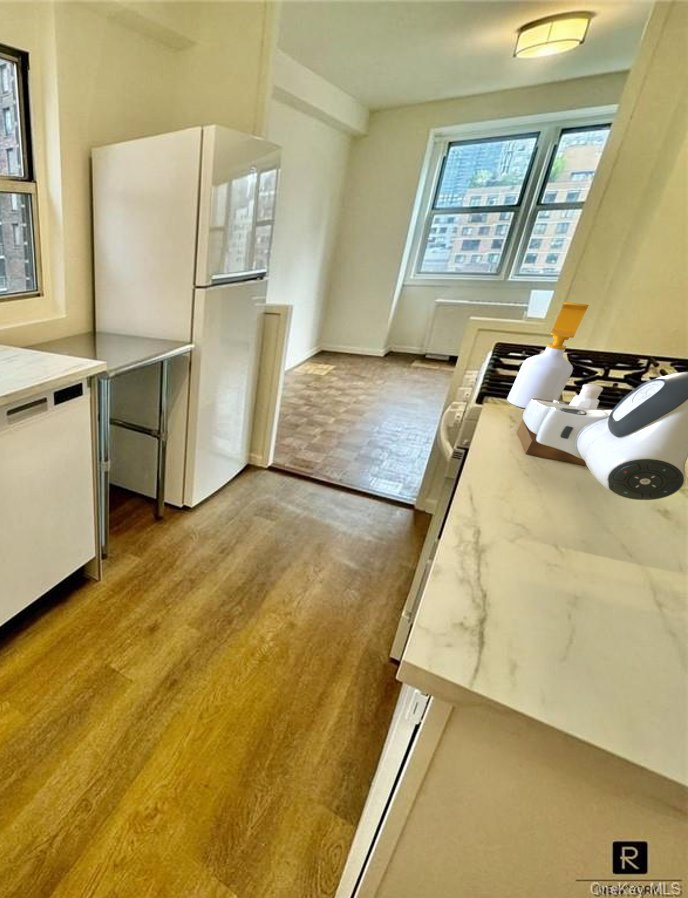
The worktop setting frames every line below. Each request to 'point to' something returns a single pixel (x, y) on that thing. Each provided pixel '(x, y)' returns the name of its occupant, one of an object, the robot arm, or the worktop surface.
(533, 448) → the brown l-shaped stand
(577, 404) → the pepper shaker
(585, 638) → the worktop surface
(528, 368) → the soap bottle
